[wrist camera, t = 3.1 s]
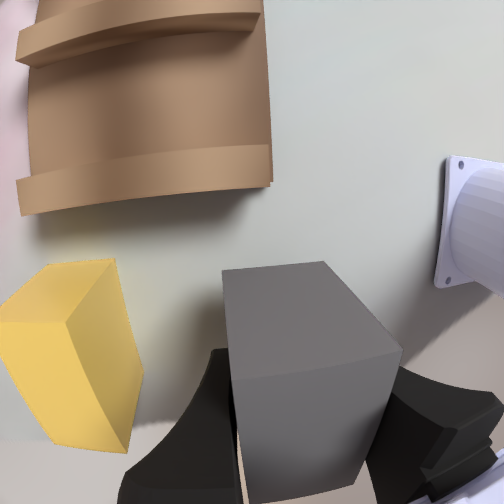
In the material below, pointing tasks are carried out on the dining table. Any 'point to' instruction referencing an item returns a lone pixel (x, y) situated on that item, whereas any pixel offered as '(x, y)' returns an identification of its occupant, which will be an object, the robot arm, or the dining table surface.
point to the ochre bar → (74, 354)
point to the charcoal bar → (304, 378)
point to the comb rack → (144, 100)
